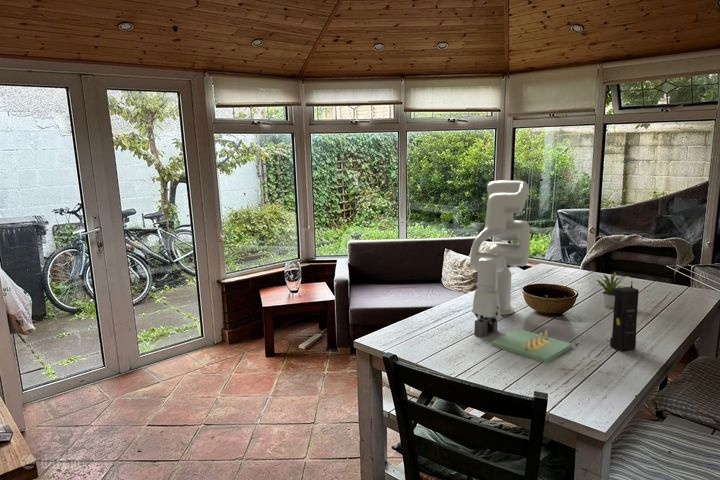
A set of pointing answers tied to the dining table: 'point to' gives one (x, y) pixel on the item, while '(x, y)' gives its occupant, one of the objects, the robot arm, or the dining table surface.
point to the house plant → (609, 290)
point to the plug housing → (483, 326)
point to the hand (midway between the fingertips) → (486, 330)
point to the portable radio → (624, 318)
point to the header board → (532, 345)
